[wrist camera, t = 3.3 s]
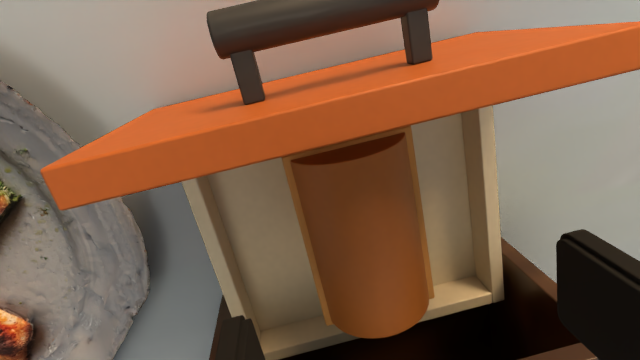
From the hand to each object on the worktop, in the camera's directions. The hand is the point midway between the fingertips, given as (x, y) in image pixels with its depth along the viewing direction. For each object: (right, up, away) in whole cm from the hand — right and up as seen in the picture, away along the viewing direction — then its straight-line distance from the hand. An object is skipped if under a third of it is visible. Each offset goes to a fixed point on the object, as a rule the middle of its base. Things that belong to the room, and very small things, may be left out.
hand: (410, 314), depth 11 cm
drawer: (-2, +4, +9) cm, 10 cm away
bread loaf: (-1, +3, +8) cm, 9 cm away
